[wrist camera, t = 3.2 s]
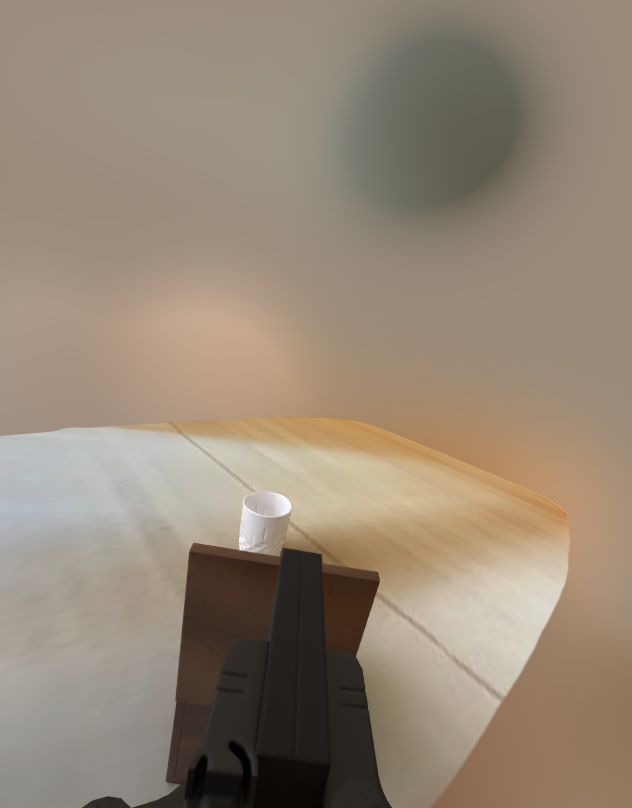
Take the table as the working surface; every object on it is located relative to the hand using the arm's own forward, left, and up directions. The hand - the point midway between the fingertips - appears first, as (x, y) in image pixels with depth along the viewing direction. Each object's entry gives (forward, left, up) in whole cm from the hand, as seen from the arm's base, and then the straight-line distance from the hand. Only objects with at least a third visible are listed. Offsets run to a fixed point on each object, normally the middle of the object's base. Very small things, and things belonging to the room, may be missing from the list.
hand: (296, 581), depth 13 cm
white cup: (-30, +26, -29) cm, 49 cm away
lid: (-7, +7, -12) cm, 16 cm away
